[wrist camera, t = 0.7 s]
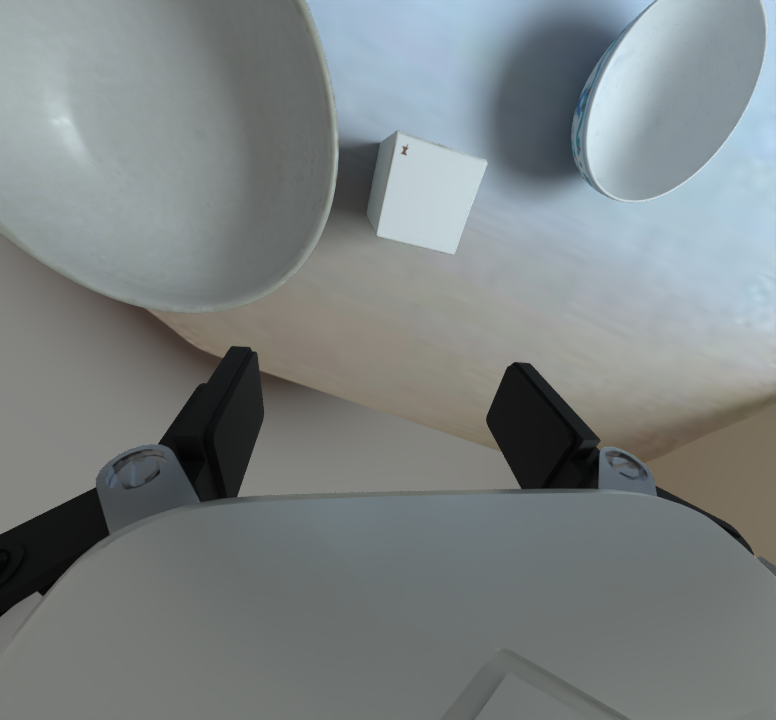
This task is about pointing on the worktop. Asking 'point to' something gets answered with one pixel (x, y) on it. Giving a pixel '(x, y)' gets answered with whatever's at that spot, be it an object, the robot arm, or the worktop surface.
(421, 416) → the worktop surface
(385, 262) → the worktop surface
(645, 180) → the chinaware
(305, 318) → the worktop surface
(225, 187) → the decorative bowl
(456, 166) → the supplement box
